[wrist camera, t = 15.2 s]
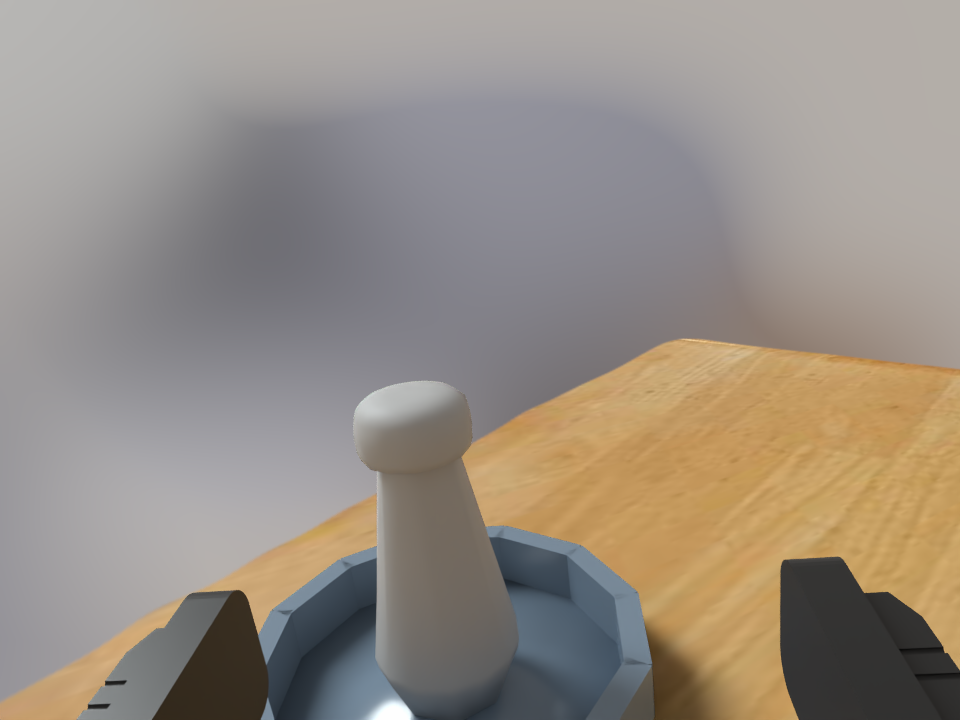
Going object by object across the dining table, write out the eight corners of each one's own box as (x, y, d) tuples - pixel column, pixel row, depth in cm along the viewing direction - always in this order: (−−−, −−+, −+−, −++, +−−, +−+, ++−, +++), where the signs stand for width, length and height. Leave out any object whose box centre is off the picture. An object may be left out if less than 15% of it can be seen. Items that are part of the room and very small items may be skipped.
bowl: (626, 573, 38) (623, 518, 37) (683, 885, 23) (680, 807, 22) (320, 589, 40) (309, 537, 39) (187, 889, 25) (163, 817, 24)
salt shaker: (530, 638, 33) (499, 360, 29) (517, 743, 28) (477, 422, 24) (402, 637, 34) (354, 369, 30) (366, 738, 29) (302, 430, 25)
